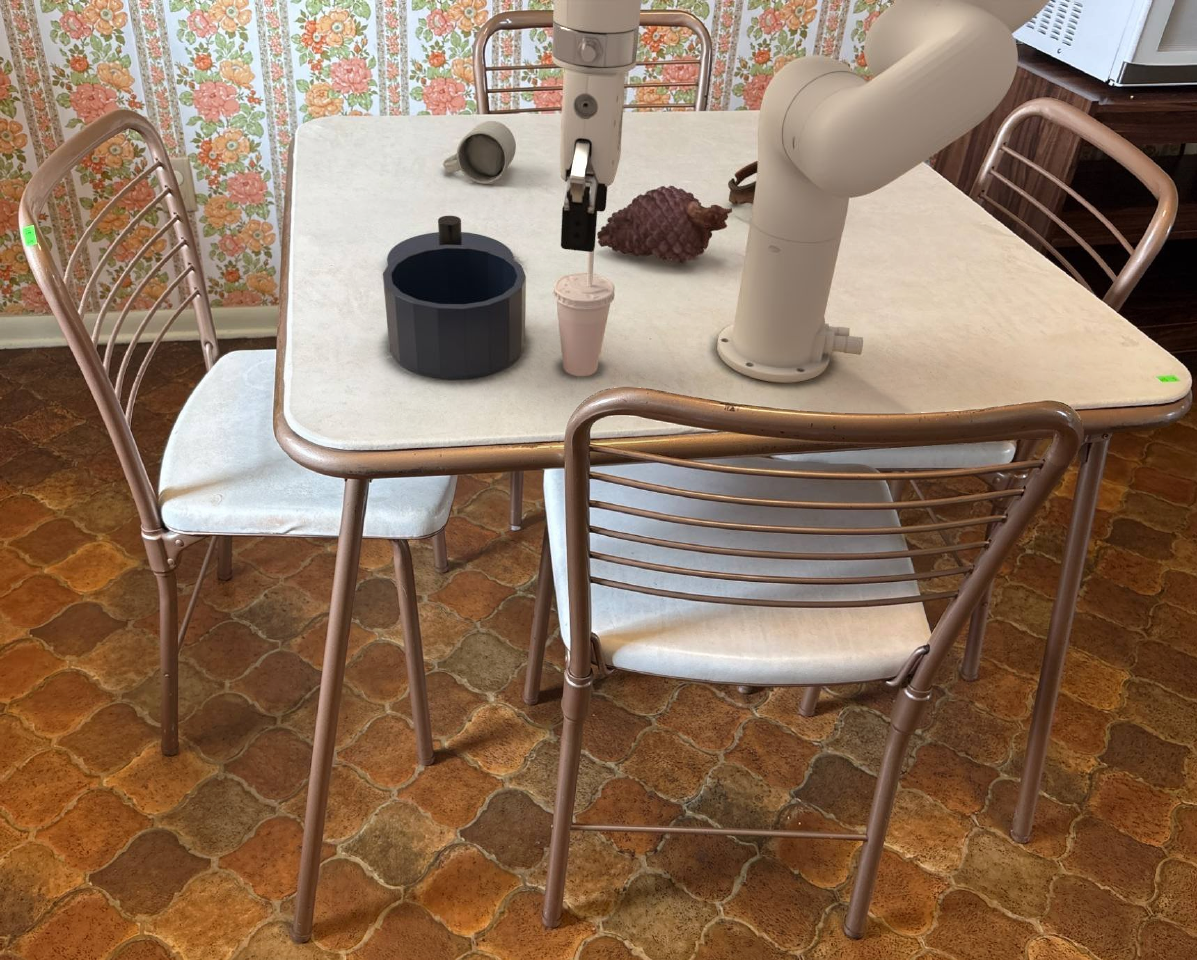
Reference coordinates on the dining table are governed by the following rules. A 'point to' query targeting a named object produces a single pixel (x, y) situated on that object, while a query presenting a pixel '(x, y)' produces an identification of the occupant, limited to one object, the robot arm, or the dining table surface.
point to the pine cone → (663, 225)
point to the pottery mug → (746, 191)
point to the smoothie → (582, 318)
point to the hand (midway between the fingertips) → (584, 228)
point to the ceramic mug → (484, 153)
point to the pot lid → (447, 239)
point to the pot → (455, 311)
